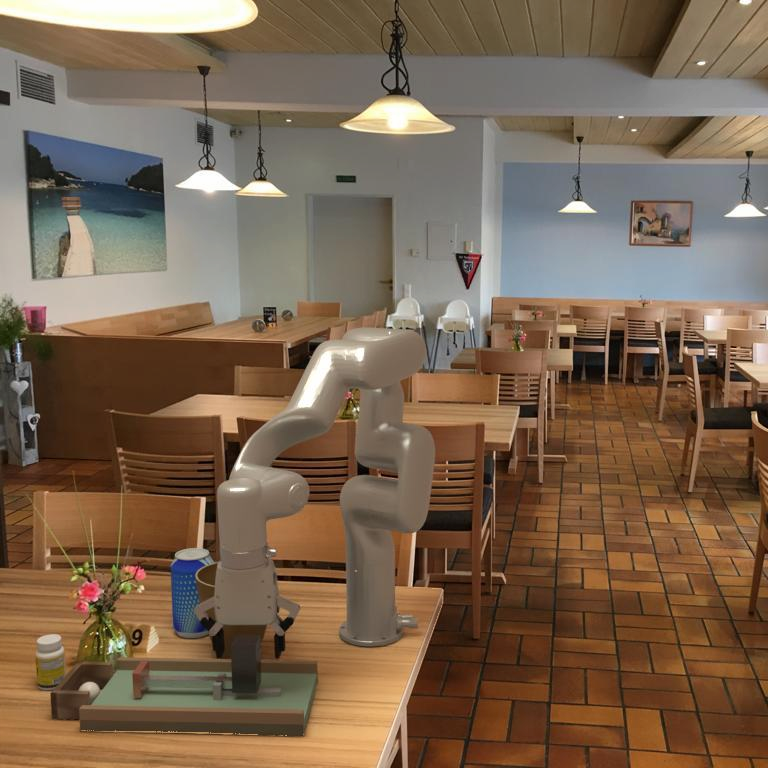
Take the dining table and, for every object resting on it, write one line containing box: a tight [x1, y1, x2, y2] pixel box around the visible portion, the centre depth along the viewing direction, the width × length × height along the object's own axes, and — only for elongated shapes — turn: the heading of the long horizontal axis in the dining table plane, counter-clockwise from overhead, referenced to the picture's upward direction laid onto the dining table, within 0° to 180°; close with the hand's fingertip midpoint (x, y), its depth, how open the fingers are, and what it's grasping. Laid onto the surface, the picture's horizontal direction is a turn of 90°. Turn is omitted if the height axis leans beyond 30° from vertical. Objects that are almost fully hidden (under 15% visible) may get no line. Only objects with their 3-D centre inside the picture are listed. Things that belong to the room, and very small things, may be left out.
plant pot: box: [195, 561, 278, 659], centre depth 163 cm, size 15×15×16 cm
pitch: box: [79, 656, 319, 737], centre depth 145 cm, size 35×18×5 cm, turn 87°
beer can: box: [170, 547, 215, 639], centre depth 173 cm, size 8×8×16 cm
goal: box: [50, 661, 114, 721], centre depth 146 cm, size 6×11×4 cm, turn 177°
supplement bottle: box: [34, 633, 67, 691], centre depth 152 cm, size 5×5×8 cm
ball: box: [78, 682, 101, 705], centre depth 146 cm, size 4×4×4 cm
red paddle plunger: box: [132, 634, 262, 698], centre depth 144 cm, size 20×5×9 cm, turn 87°
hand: (249, 654), depth 144 cm, fingers open, 9 cm apart
